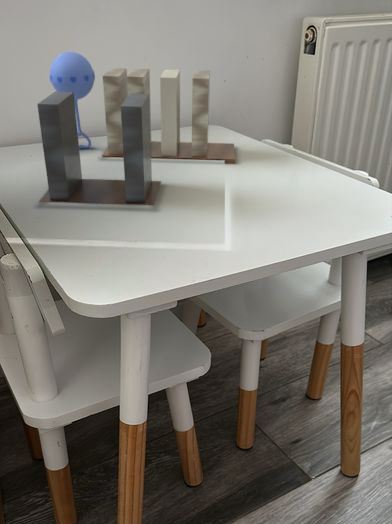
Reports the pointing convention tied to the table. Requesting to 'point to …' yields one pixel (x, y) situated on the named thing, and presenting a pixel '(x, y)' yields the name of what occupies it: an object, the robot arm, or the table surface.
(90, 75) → the baby rattle
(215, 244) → the table surface
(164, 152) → the white book
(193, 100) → the beige marbled rack
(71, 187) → the grey rack
